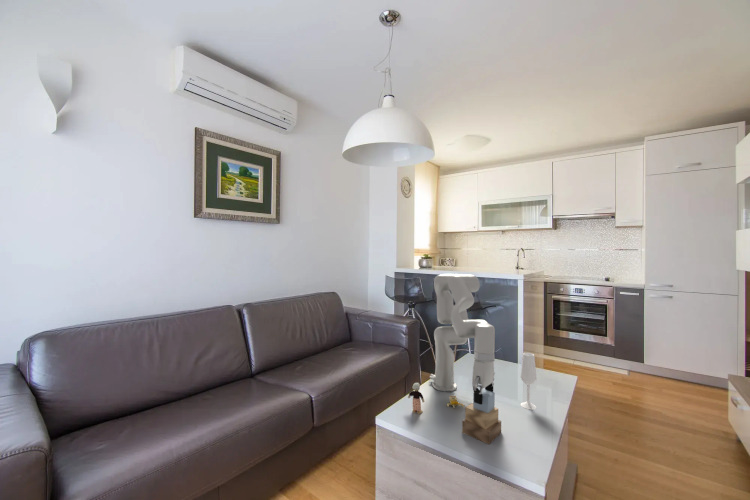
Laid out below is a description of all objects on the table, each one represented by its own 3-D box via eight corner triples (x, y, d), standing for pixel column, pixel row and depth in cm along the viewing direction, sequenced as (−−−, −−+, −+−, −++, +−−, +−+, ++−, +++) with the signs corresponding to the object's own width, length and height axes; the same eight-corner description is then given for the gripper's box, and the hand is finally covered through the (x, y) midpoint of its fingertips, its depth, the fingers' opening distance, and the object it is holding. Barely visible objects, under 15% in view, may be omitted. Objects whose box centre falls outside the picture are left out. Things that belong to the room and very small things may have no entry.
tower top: (465, 419, 127) (465, 406, 127) (478, 412, 132) (478, 400, 132) (485, 429, 120) (485, 416, 120) (498, 421, 126) (498, 408, 126)
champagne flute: (538, 410, 144) (538, 357, 144) (522, 408, 145) (522, 355, 146) (533, 403, 151) (534, 352, 151) (518, 401, 152) (519, 351, 152)
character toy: (447, 402, 144) (444, 394, 151) (447, 409, 144) (444, 401, 151) (465, 403, 143) (461, 395, 151) (465, 410, 143) (461, 402, 151)
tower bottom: (462, 433, 126) (462, 420, 126) (474, 423, 134) (475, 411, 134) (489, 445, 118) (489, 432, 118) (501, 433, 126) (501, 420, 126)
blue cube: (473, 407, 126) (473, 392, 126) (480, 402, 130) (480, 388, 130) (487, 413, 122) (488, 397, 122) (494, 407, 126) (494, 392, 126)
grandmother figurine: (425, 411, 142) (425, 382, 142) (423, 415, 139) (424, 385, 139) (408, 408, 145) (408, 380, 145) (406, 412, 141) (406, 383, 141)
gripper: (484, 348, 134) (484, 389, 134) (464, 358, 122) (464, 403, 122) (502, 352, 129) (502, 395, 129) (483, 363, 117) (483, 410, 117)
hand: (483, 399), depth 126 cm, fingers open, 9 cm apart
